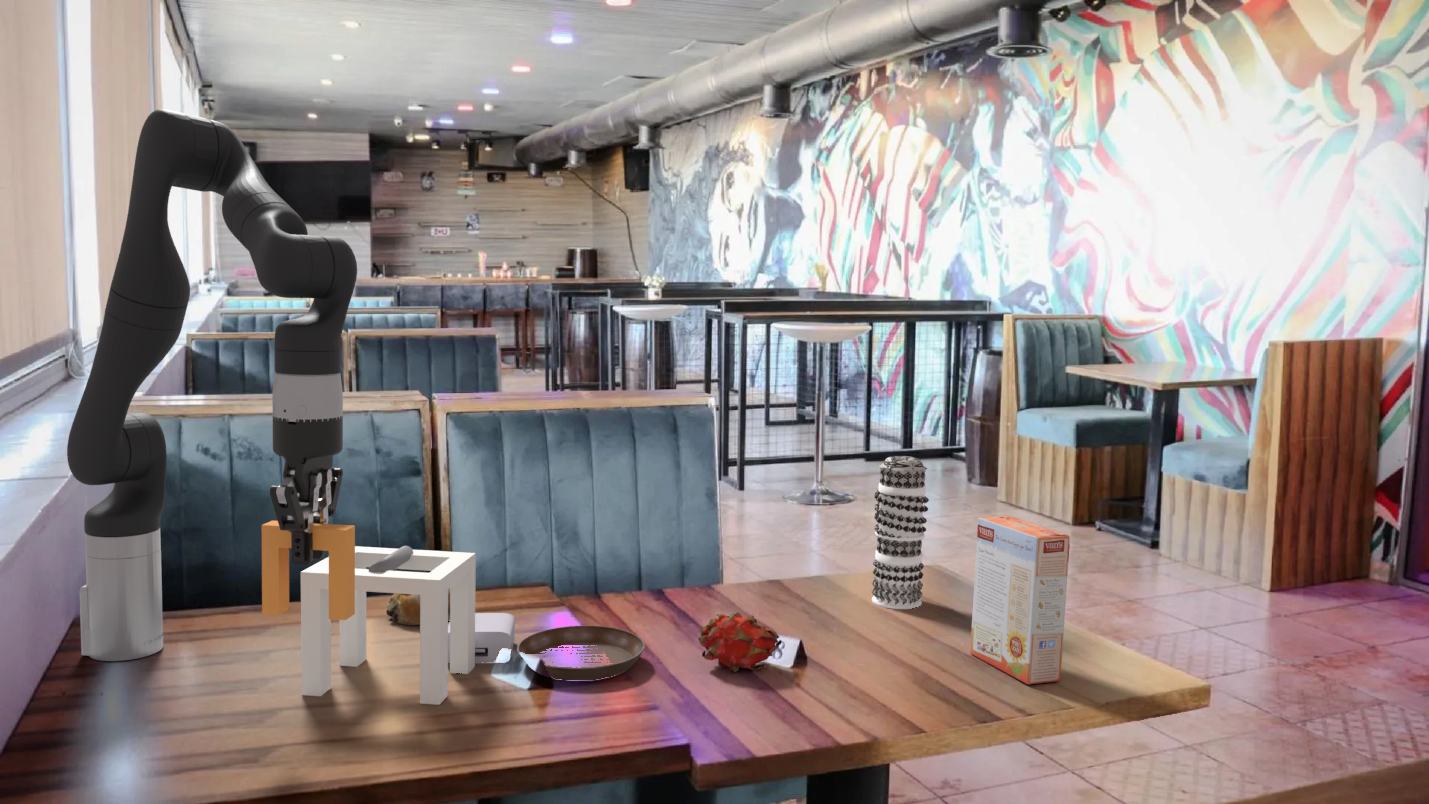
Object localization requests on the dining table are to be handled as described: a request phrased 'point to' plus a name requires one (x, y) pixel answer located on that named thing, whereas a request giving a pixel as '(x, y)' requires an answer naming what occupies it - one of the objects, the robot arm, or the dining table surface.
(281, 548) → the orange arch block
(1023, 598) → the cracker box
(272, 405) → the robot arm
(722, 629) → the dragon fruit
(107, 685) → the dining table surface
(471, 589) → the white square table frame
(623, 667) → the plant saucer
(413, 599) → the bread roll
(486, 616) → the charger
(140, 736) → the dining table surface
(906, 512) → the decorative candle
